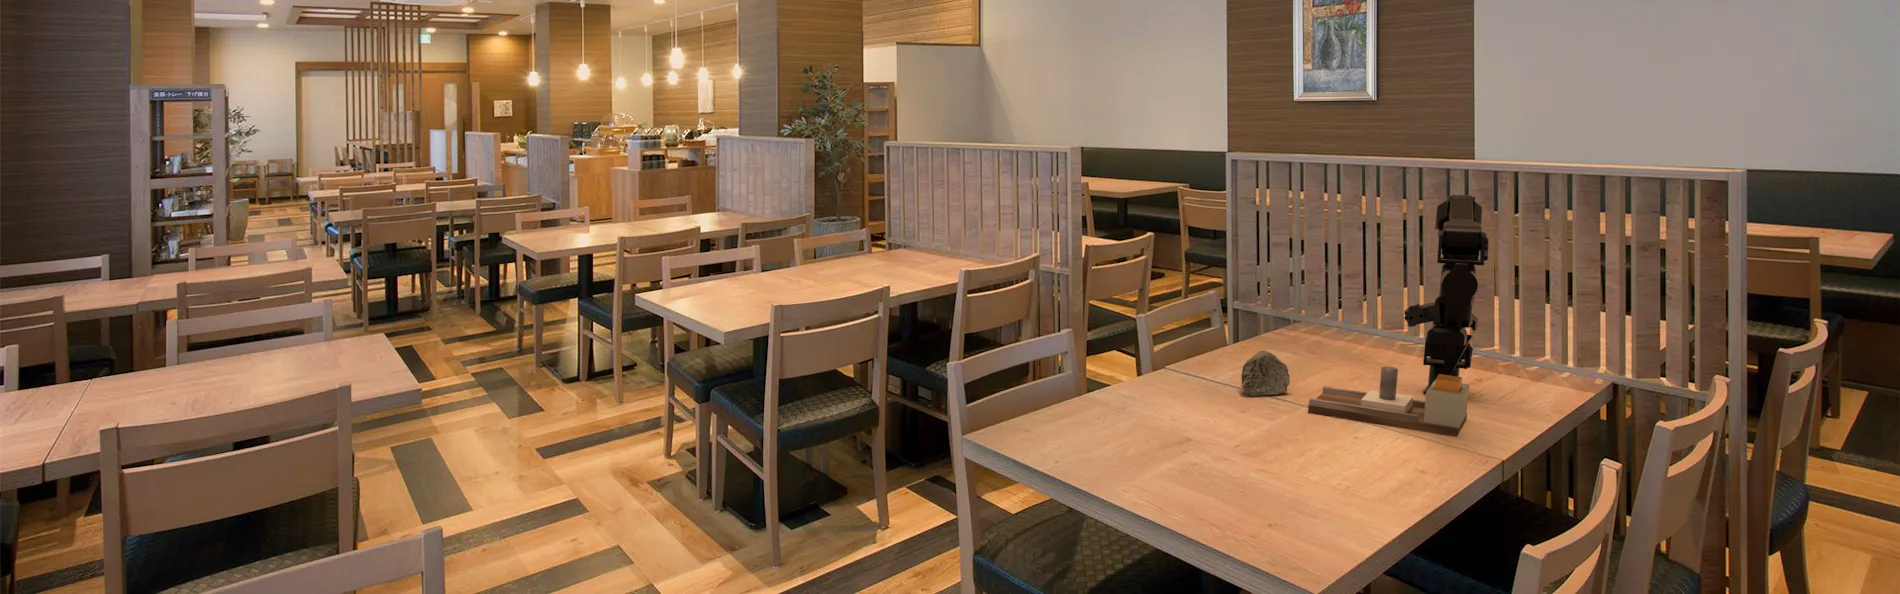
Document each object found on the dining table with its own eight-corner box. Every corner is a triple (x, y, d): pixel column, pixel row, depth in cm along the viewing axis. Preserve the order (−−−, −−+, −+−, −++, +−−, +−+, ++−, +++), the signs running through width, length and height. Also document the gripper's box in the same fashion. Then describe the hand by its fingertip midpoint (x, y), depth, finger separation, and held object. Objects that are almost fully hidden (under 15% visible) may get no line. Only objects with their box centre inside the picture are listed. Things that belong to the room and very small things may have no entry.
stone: (1273, 352, 204) (1267, 340, 213) (1234, 380, 207) (1229, 367, 216) (1302, 386, 204) (1294, 373, 214) (1262, 414, 207) (1256, 399, 217)
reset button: (1436, 399, 189) (1439, 374, 188) (1459, 402, 187) (1462, 377, 186) (1433, 404, 186) (1435, 378, 185) (1456, 407, 184) (1459, 382, 183)
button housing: (1432, 409, 193) (1435, 379, 192) (1466, 414, 189) (1469, 384, 188) (1423, 422, 185) (1426, 391, 184) (1458, 427, 181) (1461, 396, 180)
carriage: (1369, 399, 198) (1372, 361, 197) (1412, 405, 194) (1415, 367, 192) (1360, 409, 192) (1363, 370, 190) (1404, 416, 187) (1407, 376, 186)
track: (1323, 398, 206) (1324, 385, 205) (1466, 420, 190) (1467, 407, 190) (1308, 412, 196) (1308, 399, 196) (1457, 437, 181) (1458, 423, 180)
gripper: (1418, 280, 195) (1412, 356, 197) (1400, 295, 180) (1393, 377, 182) (1481, 286, 188) (1474, 364, 191) (1467, 301, 173) (1459, 386, 176)
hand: (1449, 372), depth 185 cm, fingers closed
